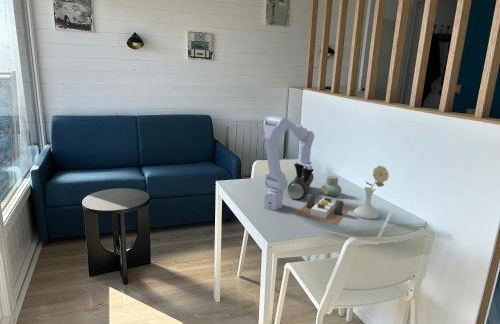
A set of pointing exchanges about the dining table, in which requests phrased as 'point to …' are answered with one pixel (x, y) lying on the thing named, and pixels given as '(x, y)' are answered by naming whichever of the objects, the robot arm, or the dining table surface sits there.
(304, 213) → the breaker panel
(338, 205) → the post
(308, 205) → the post
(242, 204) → the dining table surface
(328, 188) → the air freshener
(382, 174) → the flower in vase
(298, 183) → the muzzle brake
